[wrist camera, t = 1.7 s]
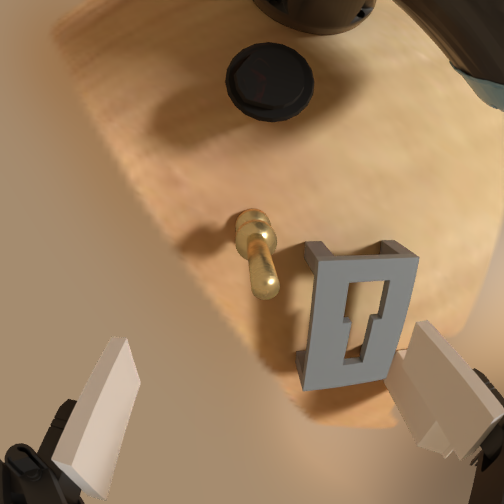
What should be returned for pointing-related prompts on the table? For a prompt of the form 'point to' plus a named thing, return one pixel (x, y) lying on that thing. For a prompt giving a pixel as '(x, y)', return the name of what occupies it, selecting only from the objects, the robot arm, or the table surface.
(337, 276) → the keyhole plate
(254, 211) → the brass t bolt
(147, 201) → the table surface
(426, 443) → the milk carton
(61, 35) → the table surface
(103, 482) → the robot arm
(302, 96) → the coffee cup
